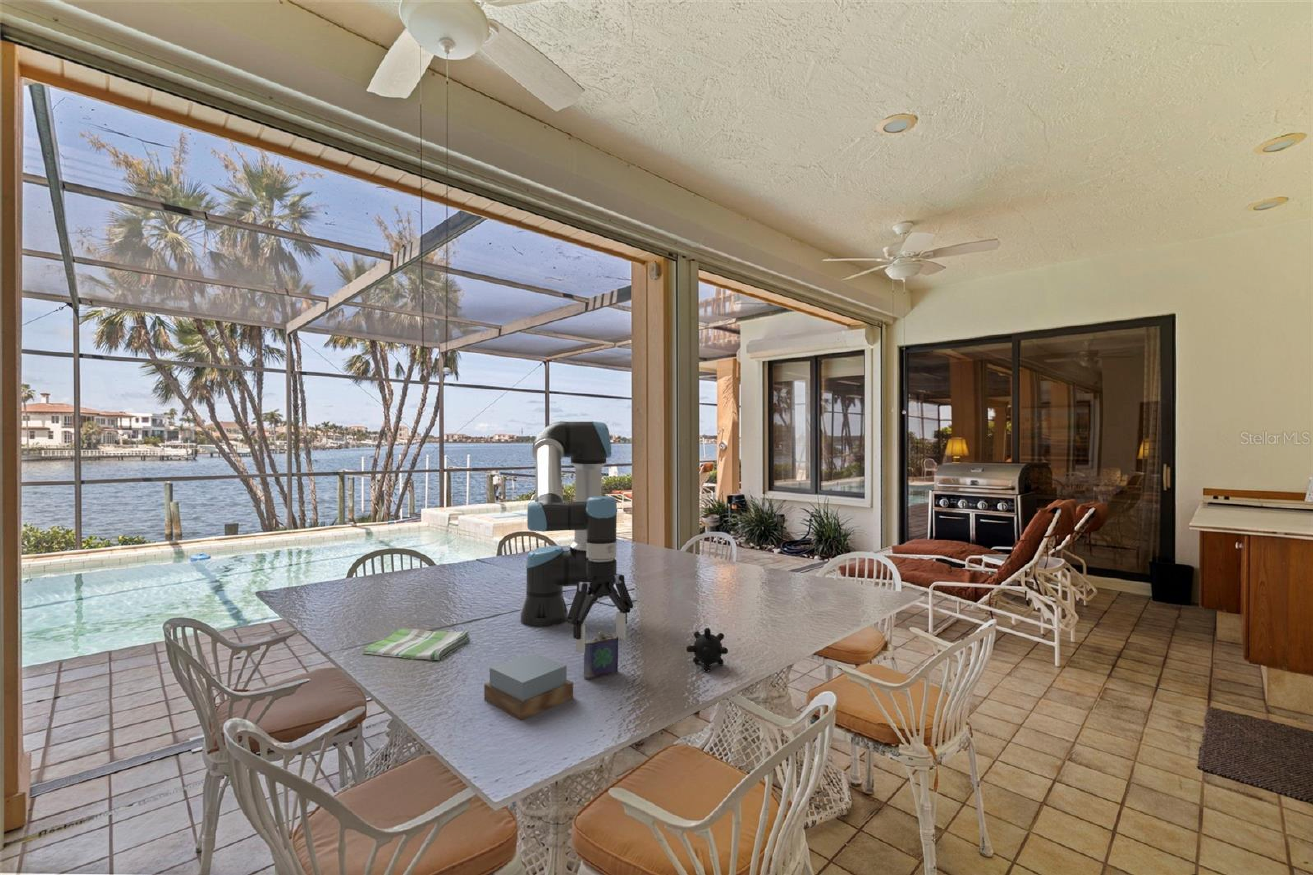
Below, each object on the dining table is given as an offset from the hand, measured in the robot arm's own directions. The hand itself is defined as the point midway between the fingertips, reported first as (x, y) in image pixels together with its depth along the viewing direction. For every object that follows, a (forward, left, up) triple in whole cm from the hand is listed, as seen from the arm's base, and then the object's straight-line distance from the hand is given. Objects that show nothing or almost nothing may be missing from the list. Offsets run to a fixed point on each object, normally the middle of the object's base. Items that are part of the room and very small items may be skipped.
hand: (601, 644), depth 140 cm
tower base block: (+20, -2, -8) cm, 21 cm away
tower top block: (+20, -2, -4) cm, 21 cm away
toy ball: (-22, +16, -8) cm, 28 cm away
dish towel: (+22, -52, -8) cm, 57 cm away
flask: (0, 0, -8) cm, 8 cm away
